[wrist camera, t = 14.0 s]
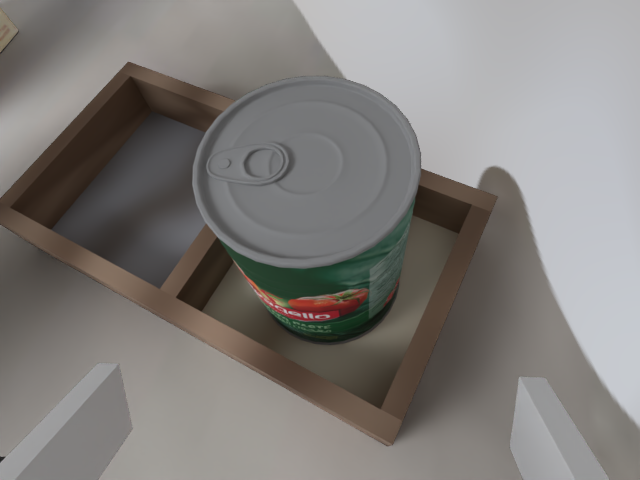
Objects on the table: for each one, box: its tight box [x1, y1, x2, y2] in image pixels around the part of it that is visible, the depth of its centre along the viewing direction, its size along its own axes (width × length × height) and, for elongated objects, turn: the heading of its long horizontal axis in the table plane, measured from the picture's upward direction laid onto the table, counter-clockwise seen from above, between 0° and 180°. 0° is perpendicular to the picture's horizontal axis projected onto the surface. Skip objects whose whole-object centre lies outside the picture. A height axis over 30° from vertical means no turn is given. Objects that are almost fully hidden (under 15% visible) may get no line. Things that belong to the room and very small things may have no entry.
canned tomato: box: [192, 76, 421, 345], centre depth 20 cm, size 8×8×11 cm
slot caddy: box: [0, 62, 497, 446], centre depth 25 cm, size 25×13×4 cm, turn 62°
